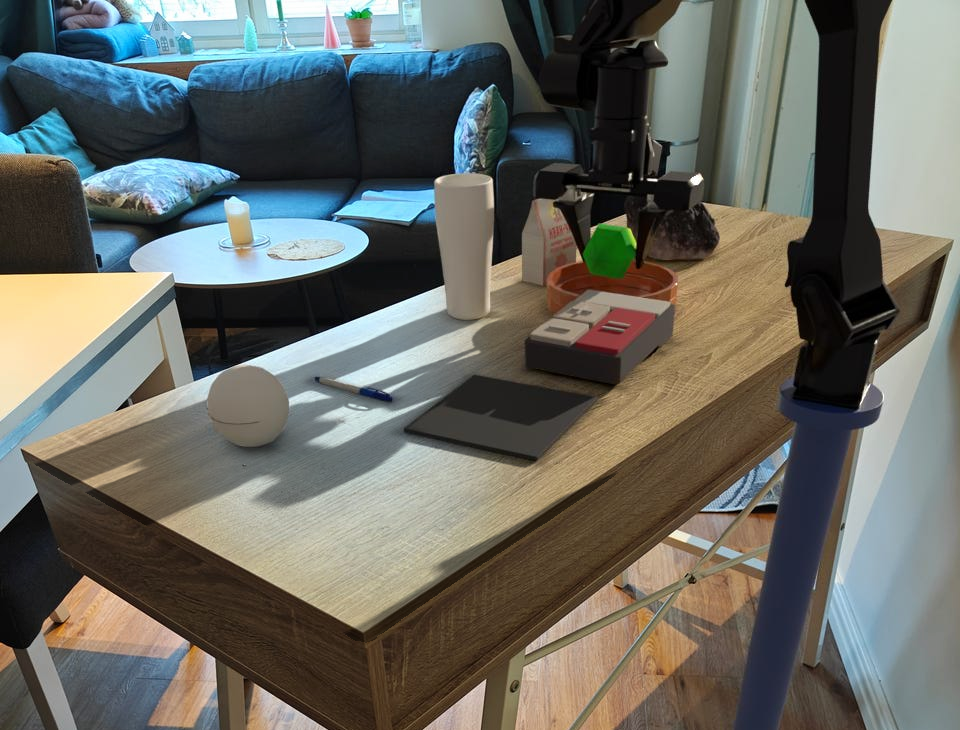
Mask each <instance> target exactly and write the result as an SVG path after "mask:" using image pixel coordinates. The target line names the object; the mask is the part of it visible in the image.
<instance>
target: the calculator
mask: <svg viewBox="0 0 960 730" xmlns="http://www.w3.org/2000/svg"><path fill="white" fill-rule="evenodd" d="M675 309H676V305H674V304H670V302H667V301H660V300H654V299H647V298H641V297H634V296H627V295H621V294H614V293H608V292H601V291H595V290H587V291H586V292H584V293H583V294H582V295H581V296H579V297H578V298H577V299H576V300H574V301H571V302H570V303H568V304H567V305H566V306H565V307H563V308H562V309H561V310H560V311H558V312H557V313H556V314H553V316H552V317H551V318H548V319H547V320H545V321H544V322H543V323H542V324H541V325H539V326H538V327H537V328H535V329H534V330H533V331H531V332H530V334H529V335H528V336H527V337H526V338H525V339H524V364H525V367H526V368H529V369H534V370H540V371H545V372H549V373H554V374H560V375H565V376H569V377H575V378H580V379H584V380H590V381H594V382H600V383H605V384H609V385H619V384H620V383H622V381H624V380H625V378H627V377H628V376H629V375H630V374H631V373H632V372H633V371H634V370H635V369H636V368H637V367H638V366H639V365H640V364H641V363H642V362H643V361H644V360H645V359H646V358H647V357H648V356H649V355H650V354H651V353H652V352H653V351H654V350H655V349H656V348H659V349H660V348H662V347H663V346H664V345H665V344H667V342H668V341H669V340H670V339H671V338H672V337H673V335H674V334H673V333H674V323H675V314H676V313H675V312H676V310H675Z"/></svg>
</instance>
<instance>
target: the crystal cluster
mask: <svg viewBox="0 0 960 730" xmlns="http://www.w3.org/2000/svg"><path fill="white" fill-rule="evenodd" d="M647 205H648V201H647V197H636V196H626V198H625V201H624V205H623V208H624V212H625V217H626V228H629V229H631V232H632V234H633V237H634V238H635V240H636V242H637V232H638V219H639V211H640V210H642V209H643V208H644V207H646V206H647ZM720 239H721V238H720V233H719V231H718V229H717V227H716V219H715V218H713V217H712V213H710V211H709V210H708V208H707V206H706V205H705V204H704V203H703V202H702V201H700V202H699V203H698V204H696V205H695V206H694V207H692V208H691V209H690V210H687V211H675V210H674V211H672V212H671V213H670V214H668V215H667V216H666V217H664V218H663V220H662V222H661V223H660V225H659V227H658V229H657V231H656V233H655V236H654V238H653V241H652V243H651V246H650V248H649V251H648V253H647V256H646V257H648V258H652V259H656V260H661V261H672V260H685V261H686V260H687V261H691V260H704V259H706V258H708V257H709V256H711V255H712V254H713V253H714V251H715V249H716V248H717V246H718V245H719V244H720ZM636 244H637V243H636Z"/></svg>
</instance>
